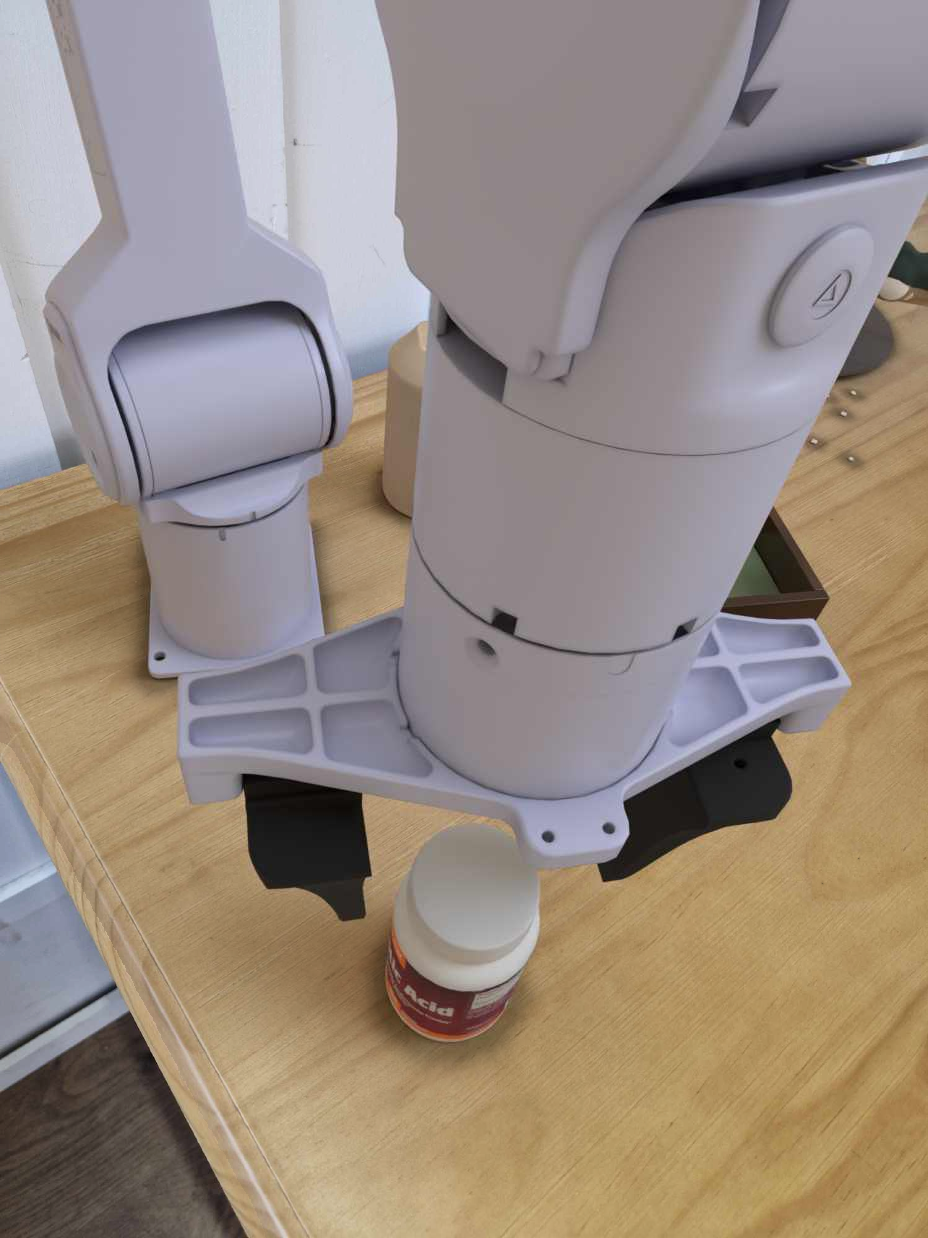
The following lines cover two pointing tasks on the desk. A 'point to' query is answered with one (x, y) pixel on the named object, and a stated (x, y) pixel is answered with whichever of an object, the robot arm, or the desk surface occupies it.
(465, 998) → the pill bottle
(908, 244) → the toy
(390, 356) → the candle
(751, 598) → the dark brown square box
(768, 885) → the desk surface
